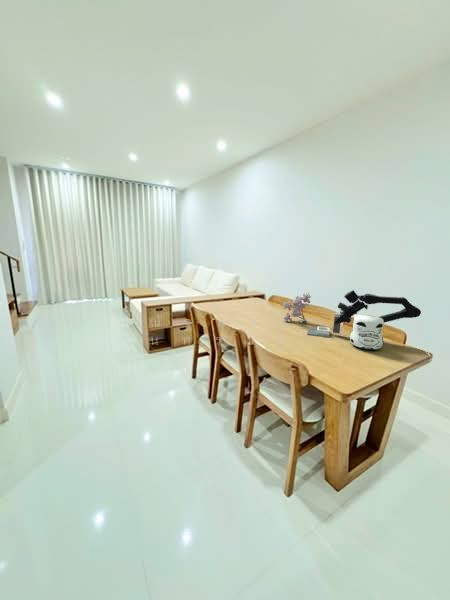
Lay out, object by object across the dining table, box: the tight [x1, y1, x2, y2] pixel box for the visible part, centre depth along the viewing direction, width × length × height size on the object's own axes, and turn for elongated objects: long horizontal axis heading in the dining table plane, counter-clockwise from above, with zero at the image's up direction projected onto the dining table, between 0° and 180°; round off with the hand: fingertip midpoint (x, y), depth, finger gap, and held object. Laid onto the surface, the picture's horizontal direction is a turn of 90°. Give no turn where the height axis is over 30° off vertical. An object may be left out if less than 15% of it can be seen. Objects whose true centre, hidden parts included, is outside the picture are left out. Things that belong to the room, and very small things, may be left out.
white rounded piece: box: [349, 314, 385, 351], centre depth 150 cm, size 17×17×18 cm
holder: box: [306, 325, 331, 338], centre depth 174 cm, size 14×12×4 cm
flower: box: [282, 292, 312, 325], centre depth 200 cm, size 20×22×25 cm
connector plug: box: [332, 312, 342, 334], centre depth 168 cm, size 4×4×13 cm
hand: (334, 322), depth 169 cm, fingers closed on connector plug, 4 cm apart
